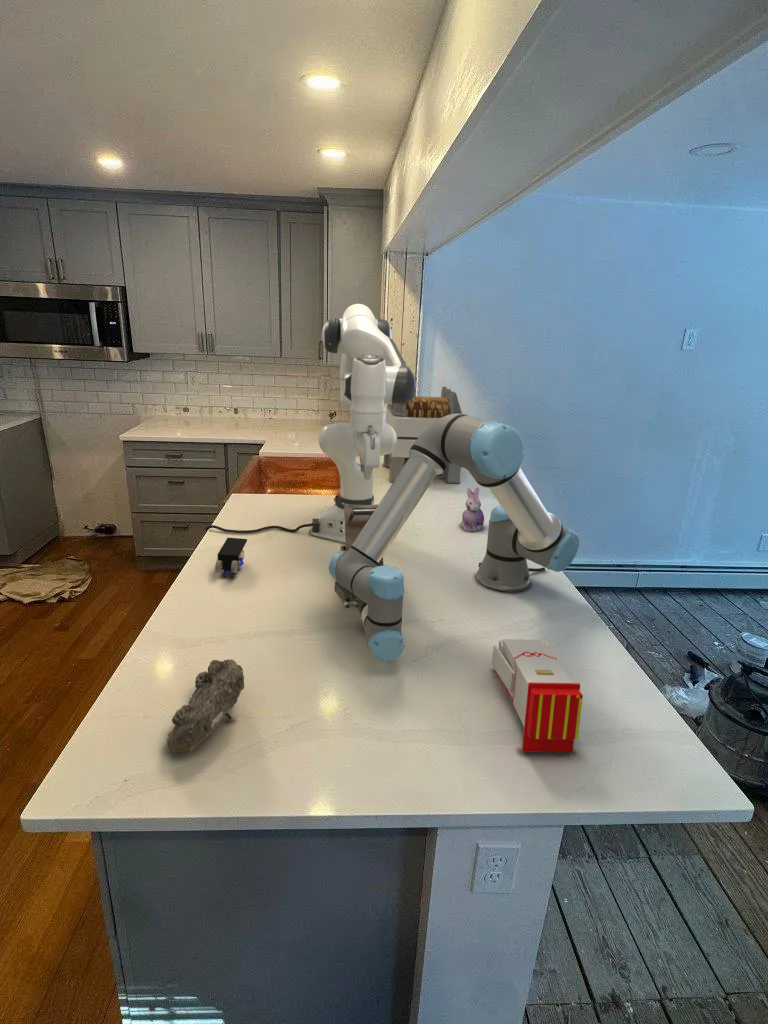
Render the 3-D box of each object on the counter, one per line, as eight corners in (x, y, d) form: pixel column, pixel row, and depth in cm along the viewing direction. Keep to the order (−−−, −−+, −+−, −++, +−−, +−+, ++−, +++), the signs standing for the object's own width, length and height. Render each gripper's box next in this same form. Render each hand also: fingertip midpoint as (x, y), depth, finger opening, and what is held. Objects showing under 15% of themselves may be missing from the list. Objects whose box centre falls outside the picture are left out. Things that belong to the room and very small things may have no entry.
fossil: (192, 660, 117) (244, 628, 112) (224, 691, 120) (276, 661, 115) (142, 746, 98) (202, 712, 93) (182, 779, 101) (242, 748, 96)
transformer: (382, 463, 289) (386, 382, 275) (445, 464, 293) (451, 384, 279) (390, 482, 257) (394, 392, 243) (460, 483, 261) (468, 394, 247)
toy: (540, 622, 128) (592, 691, 98) (535, 677, 130) (584, 759, 101) (487, 621, 127) (523, 690, 98) (483, 676, 130) (516, 758, 101)
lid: (343, 506, 154) (347, 498, 145) (379, 505, 155) (384, 497, 147) (346, 568, 150) (350, 564, 142) (382, 567, 151) (388, 562, 143)
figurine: (470, 533, 202) (474, 493, 197) (453, 524, 211) (457, 485, 206) (491, 530, 207) (495, 491, 202) (474, 520, 215) (478, 483, 210)
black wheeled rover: (238, 584, 162) (249, 557, 175) (236, 562, 158) (247, 536, 172) (215, 584, 161) (227, 556, 175) (212, 561, 158) (225, 535, 171)
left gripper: (387, 431, 133) (384, 487, 137) (373, 414, 151) (371, 464, 156) (360, 431, 132) (359, 487, 136) (350, 414, 150) (348, 464, 155)
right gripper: (329, 630, 133) (321, 586, 154) (421, 624, 137) (402, 582, 158) (329, 601, 130) (322, 561, 151) (423, 597, 134) (403, 558, 155)
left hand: (365, 475), depth 146 cm, fingers open, 5 cm apart
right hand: (363, 572), depth 154 cm, fingers closed on chest, 10 cm apart
